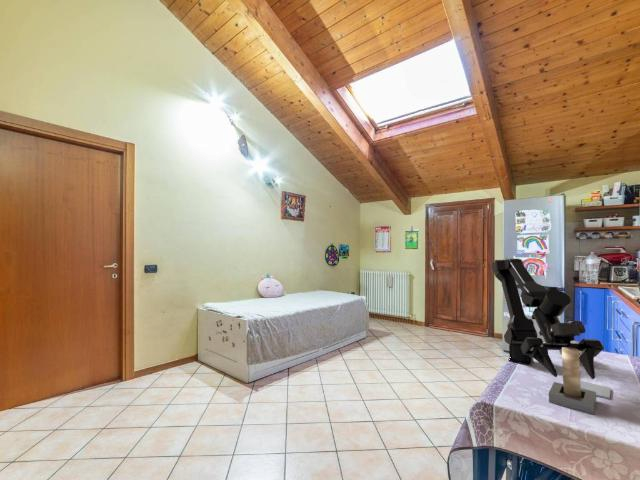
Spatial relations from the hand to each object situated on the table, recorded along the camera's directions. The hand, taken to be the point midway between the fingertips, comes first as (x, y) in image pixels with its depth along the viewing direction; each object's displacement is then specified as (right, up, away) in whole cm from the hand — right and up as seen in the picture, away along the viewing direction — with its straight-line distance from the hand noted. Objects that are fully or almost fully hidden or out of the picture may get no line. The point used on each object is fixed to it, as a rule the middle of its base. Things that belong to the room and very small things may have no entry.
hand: (574, 377), depth 80 cm
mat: (+11, -7, +7) cm, 15 cm away
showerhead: (+23, -8, +30) cm, 38 cm away
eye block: (0, -7, +1) cm, 7 cm away
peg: (0, -7, +1) cm, 7 cm away
